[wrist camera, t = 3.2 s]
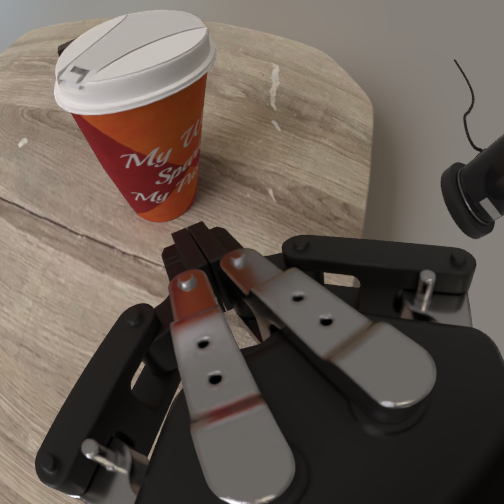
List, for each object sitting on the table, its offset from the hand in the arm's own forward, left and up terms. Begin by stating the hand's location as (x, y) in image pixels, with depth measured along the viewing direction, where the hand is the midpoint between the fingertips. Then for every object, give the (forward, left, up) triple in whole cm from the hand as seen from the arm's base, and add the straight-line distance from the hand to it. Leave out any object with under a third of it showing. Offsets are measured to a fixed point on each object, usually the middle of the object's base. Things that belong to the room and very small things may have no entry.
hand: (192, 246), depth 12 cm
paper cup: (-1, -8, -8) cm, 11 cm away
